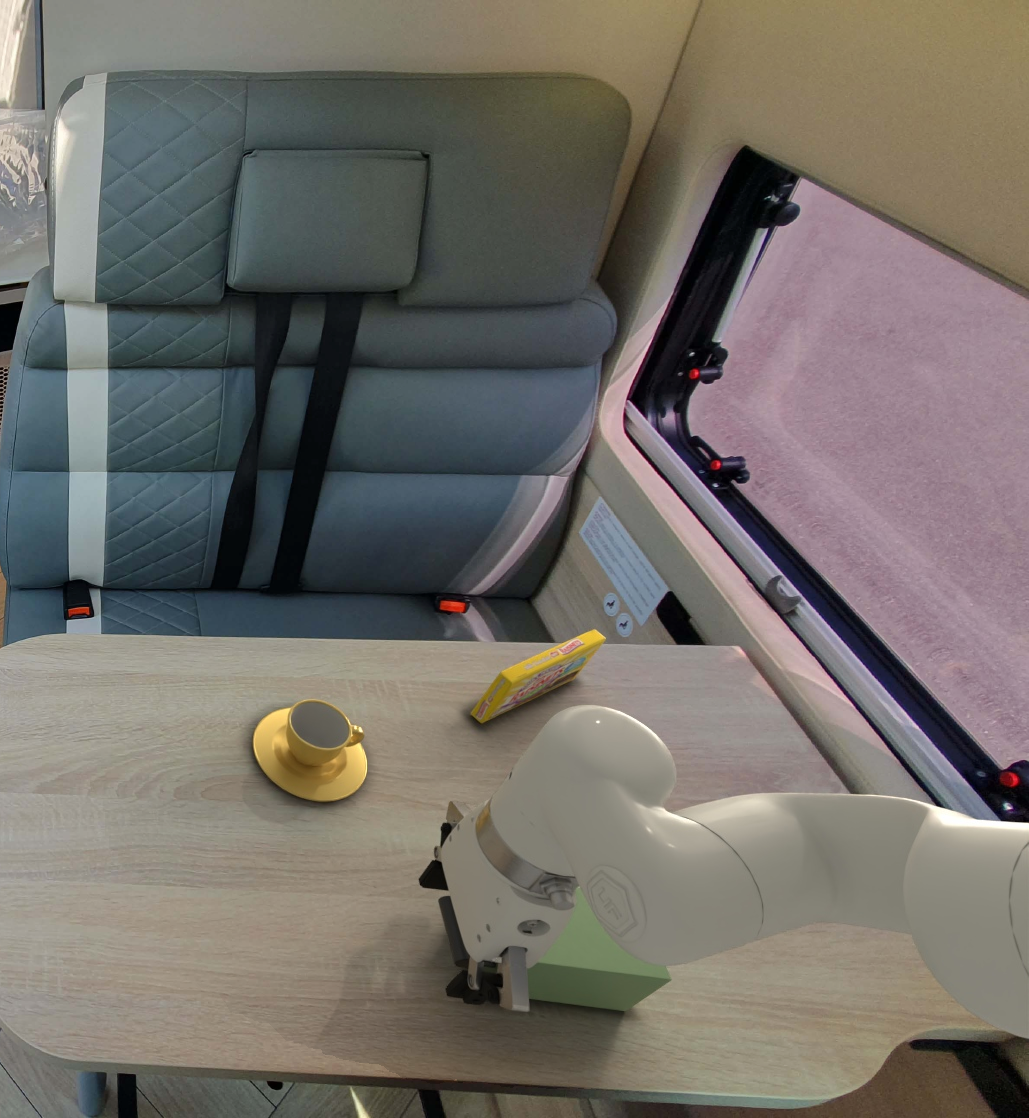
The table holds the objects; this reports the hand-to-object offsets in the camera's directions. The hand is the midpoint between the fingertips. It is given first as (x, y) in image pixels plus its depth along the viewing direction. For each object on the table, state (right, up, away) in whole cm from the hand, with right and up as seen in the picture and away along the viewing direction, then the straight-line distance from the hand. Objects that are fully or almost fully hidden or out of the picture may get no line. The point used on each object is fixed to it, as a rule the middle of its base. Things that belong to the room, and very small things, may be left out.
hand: (449, 937), depth 71 cm
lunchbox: (+14, 0, -2) cm, 15 cm away
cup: (-7, +12, +17) cm, 22 cm away
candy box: (+20, +17, +23) cm, 35 cm away
